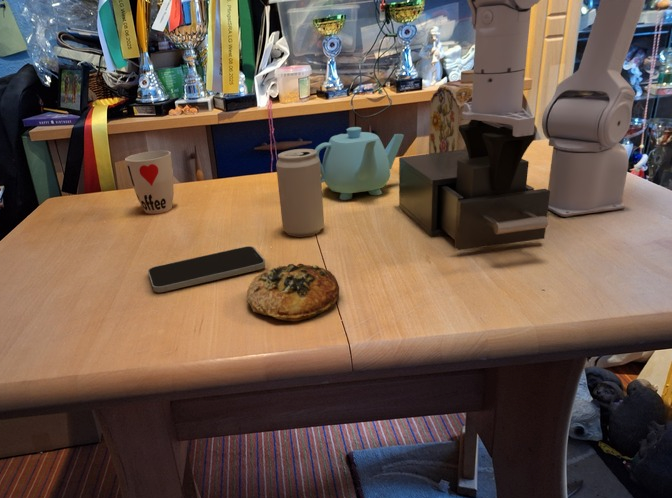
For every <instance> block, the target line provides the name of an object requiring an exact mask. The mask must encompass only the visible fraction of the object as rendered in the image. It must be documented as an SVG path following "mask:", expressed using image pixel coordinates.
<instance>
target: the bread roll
mask: <svg viewBox="0 0 672 498" xmlns="http://www.w3.org/2000/svg"><path fill="white" fill-rule="evenodd" d="M339 295H340V285H339V283H338V280H337V278H336V277H335V275H334V274H333V273H332V272H331V271H330V270H329V269H325V268H323V267H320V266H318V265H316V264H313V265H311V264H304V263H298V264H297V265H295V264H294V263H289V264H287V265H279V266H277V267H273V268H271V269H270V270H267V271H264V272H262V273H260V274H258V275H256V276H255V277H254V278H253V279H252V280H251V282H250V283H249V285H248V289H247V290H246V301H247V303H248V304H249V306H250V307H251V309H252V312H253V313H257V314H259V315H264V316H270V317H272V318H274V319H276V320H281V321H286V322H287V321H288V322H298V321H299V322H300V321H303V320H309V319H310V318H312V317H315V316H316V315H318V314H321V313H323V312H325V311H328V310H331V308H332V307H333V306H334V305H335V304H336V302H338V300H339Z"/></svg>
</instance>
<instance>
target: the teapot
mask: <svg viewBox="0 0 672 498" xmlns="http://www.w3.org/2000/svg"><path fill="white" fill-rule="evenodd" d="M345 130H346V133H339V134H336V135H333V136H331V137H330V138H329V141H328V142H321V143H320V144H318V145H317V146H316V147H315V149H314V150H316V151H317V154H316V155H317V157H318V158H319V159H320V151H322V150H323V149H325V148H326V149H325V152H324V155H323V159H322V162H321V161H320V170H321V184H322V183H324V184H325V185H326V186H327V188H329V189H330V191H331V192H334V193H340V194H339V199H340V200H343V201H346V200H351V199H353V193H354V194H355V193H360V192H361V193H362V192H368V194H369V195H371V196H379V195H382V194H383V191H382V190H381V189H383V188H384V187H385V186H386V185H387V183H388V182H389V180H390V177H391V170H392V167H393V165H394V163H395V160H396V158H397V155H398V152H399V150H400V147H401V144H402V143H403V140H404V137H405V135H404V134H402V133H395V134H393V136H392V138H391V139H390V141H389V142H388V144H387V146H386V147H384V144H383V142H382V140H381V139H380V137H379V135H377V134H376V133H373V132H369V131H362V127H360V126H351V127H348V128H346V129H345Z"/></svg>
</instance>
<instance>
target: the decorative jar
mask: <svg viewBox="0 0 672 498" xmlns="http://www.w3.org/2000/svg"><path fill="white" fill-rule="evenodd" d="M473 71H474V68H473V69H464V70H461V72H460V79H458V80H453V81H452V80H451V81H448V82H444V83H443V84H440V85H439V86H438V87H437V89H436V90H435V92H434V93H433V94H432V96H431V97H430V107H429V129H428V130H429V131H428V132H429V133H428V154H431V153H439V152H447V151H454V150H462V149H467V148H466V145H465V142H464V140H463V137H462V135H461V133H460V132H459V126H460V125H464V124H469V122H471V120H466V119H463V118H462V113H463V112H464V103H469V102H472V90H473V73H474V72H473Z"/></svg>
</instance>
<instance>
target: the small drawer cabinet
mask: <svg viewBox="0 0 672 498" xmlns="http://www.w3.org/2000/svg"><path fill="white" fill-rule="evenodd" d="M462 159H469V156H468V151H467V149H462V150H454V151H447V152H439V153H431V154H429V153H424V154H416V155H408V156H401V157H400V156H399V157H398V207H399V208H400V209H401V210H402V211H403V212H404V214H406V215H407V216H408V217H409V218H410V219H411V220H412V221H414V222H415V223H416V224H417V225H418V226H419V227H420V228H421V229H422V230H423V231H424V232H425V233H426V234H427V235H429V237H431V238H432V237H438V236H439V237H440V236H447V235H449V234H448V233H446V232H445V231H444V230H443V229H442V228H441V227H439V226H438V225H437V202H438V185H444V184H451V183H456V182H457V160H462Z"/></svg>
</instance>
